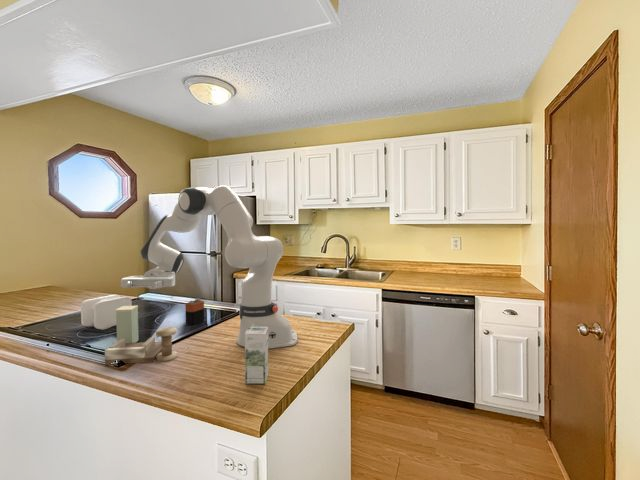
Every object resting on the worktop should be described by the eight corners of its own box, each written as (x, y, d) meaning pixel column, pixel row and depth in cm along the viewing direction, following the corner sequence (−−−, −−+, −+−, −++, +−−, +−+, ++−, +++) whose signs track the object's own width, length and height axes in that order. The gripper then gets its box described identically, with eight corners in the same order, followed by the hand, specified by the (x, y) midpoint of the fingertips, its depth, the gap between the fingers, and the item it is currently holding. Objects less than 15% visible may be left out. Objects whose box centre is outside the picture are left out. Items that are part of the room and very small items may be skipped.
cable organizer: (94, 332, 121) (92, 303, 121) (80, 328, 126) (79, 300, 126) (132, 322, 134) (131, 295, 134) (119, 318, 140) (118, 293, 139)
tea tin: (139, 340, 114) (138, 305, 113) (132, 345, 109) (131, 309, 108) (123, 340, 113) (122, 305, 113) (116, 346, 108) (115, 309, 108)
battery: (204, 320, 137) (204, 298, 136) (192, 325, 131) (192, 302, 130) (197, 319, 139) (197, 297, 138) (185, 323, 132) (184, 301, 132)
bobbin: (179, 352, 103) (179, 326, 103) (173, 360, 97) (173, 333, 97) (160, 353, 102) (160, 327, 102) (153, 361, 97) (152, 334, 96)
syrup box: (268, 374, 89) (268, 325, 89) (265, 385, 84) (265, 333, 83) (248, 374, 89) (248, 325, 88) (244, 385, 83) (244, 333, 82)
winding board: (168, 345, 109) (167, 333, 109) (153, 361, 97) (153, 348, 96) (125, 347, 107) (125, 334, 107) (105, 364, 95) (104, 350, 94)
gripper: (129, 271, 134) (112, 277, 121) (178, 271, 137) (167, 277, 123) (129, 286, 135) (113, 293, 121) (178, 285, 137) (167, 292, 124)
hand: (141, 285), depth 122 cm, fingers open, 8 cm apart
